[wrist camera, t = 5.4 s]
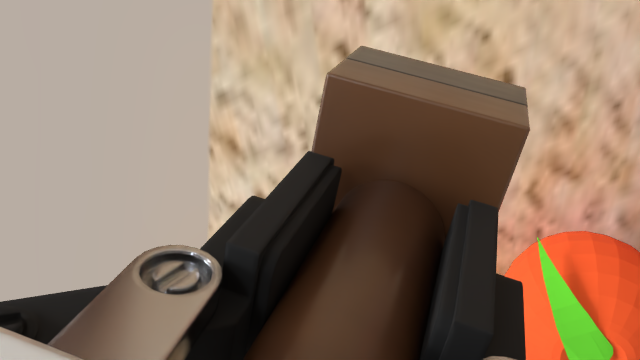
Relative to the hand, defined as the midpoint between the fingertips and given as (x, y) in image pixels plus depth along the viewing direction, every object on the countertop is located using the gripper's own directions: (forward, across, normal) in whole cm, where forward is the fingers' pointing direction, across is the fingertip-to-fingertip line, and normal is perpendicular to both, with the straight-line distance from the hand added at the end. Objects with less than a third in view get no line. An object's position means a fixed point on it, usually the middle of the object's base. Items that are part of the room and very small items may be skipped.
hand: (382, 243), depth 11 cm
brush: (+4, 0, 0) cm, 4 cm away
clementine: (+16, -8, +8) cm, 20 cm away
